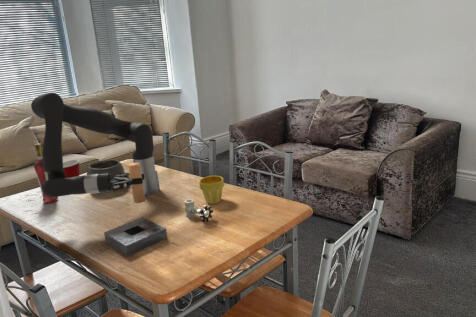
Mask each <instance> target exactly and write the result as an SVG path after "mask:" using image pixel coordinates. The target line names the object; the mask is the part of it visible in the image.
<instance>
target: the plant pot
mask: <svg viewBox="0 0 476 317" xmlns="http://www.w3.org/2000/svg"><path fill="white" fill-rule="evenodd" d="M198 182H199V183H198V184H199V188H200V190H201V191H202V194H203V196H204V199H205V200H204V201H205V202H206V203H207V204H210V205H211V204H218V203H219V202H221V201H222V198H223V197H222V196H223V188H224V186H225V182H224V177H222V176H220V175H208V176H205V177H202V178H201V179H199V181H198Z"/></svg>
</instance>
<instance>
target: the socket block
mask: <svg viewBox="0 0 476 317" xmlns="http://www.w3.org/2000/svg"><path fill="white" fill-rule="evenodd" d="M167 233H168V232H167V228H166V227H164V226H162V225H159V224H158V223H156V222H153V221H151V220H149V219H147V218H145V217H144V216H142V217H139V218H137V219H134V220H132V221H129V222H127V223H124V224H122V225H119V226H117V227H114V228H112V229H109V230H106V231H105V232H103V235H104V240H105V243H106V244H107V245H108V246H111V247H112V248H114V249H115V250H117V251H118V252H120V253H122V254H123V255H124V256H126V257H130V256H132V255H134V254H136V253H139V252H141V251H143V250H145V249H148V248H150V247H152V246H154V245H157V244H159V243H161V242H163V241H165V240H167V239H168V234H167Z"/></svg>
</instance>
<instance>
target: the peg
mask: <svg viewBox="0 0 476 317" xmlns="http://www.w3.org/2000/svg"><path fill="white" fill-rule="evenodd" d="M127 166H128V167H127V168H128V173H129V174H130V179H134V178H142V175H141V169H140V163H134V162H132V163H129V164H128V165H127ZM130 188H131V193H132V199H133V203H135V204H141V203H144V202H145V201H146V195H144V188H143V183H142V184H135V185H132V186H130Z"/></svg>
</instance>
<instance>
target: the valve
mask: <svg viewBox="0 0 476 317" xmlns="http://www.w3.org/2000/svg"><path fill="white" fill-rule="evenodd" d="M203 208H204V209H202V208H201V209H200V208H199V207H198V206H197V205H195V199H190V198H189V199H186V200H185V201H184V211H185V215H186V216H185V217H186V218H189V219H191V218H196V215H197V214H198V215H199V216H198V217H199V218H201V222H203V223H205V222H206V223H207V222H208V223H209V221H210V220H209V219H212V218H213V215H212V213H214V210H213V209H212V206H211V205H208V206H207V205H203Z"/></svg>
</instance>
